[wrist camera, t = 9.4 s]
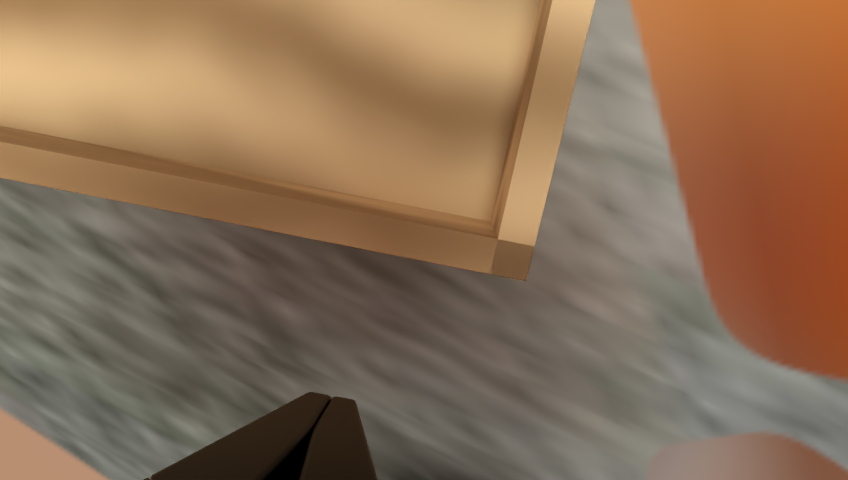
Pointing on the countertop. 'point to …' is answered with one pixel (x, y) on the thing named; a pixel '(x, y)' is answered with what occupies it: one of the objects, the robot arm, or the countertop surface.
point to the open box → (302, 114)
